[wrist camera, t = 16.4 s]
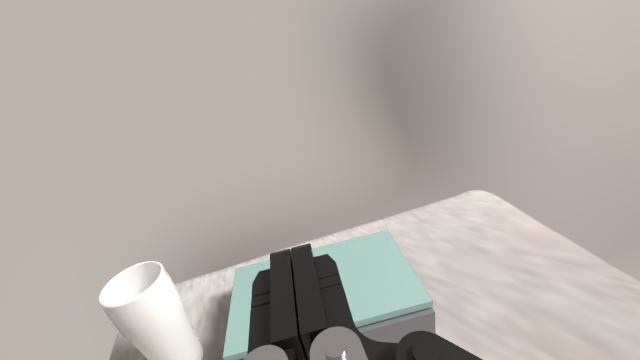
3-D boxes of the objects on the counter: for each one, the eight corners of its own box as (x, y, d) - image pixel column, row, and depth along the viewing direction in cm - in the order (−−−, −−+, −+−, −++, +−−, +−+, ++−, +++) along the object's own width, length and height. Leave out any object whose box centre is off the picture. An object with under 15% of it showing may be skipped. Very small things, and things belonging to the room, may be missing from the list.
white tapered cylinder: (155, 359, 41) (98, 280, 34) (204, 329, 44) (160, 251, 37) (160, 403, 35) (94, 319, 29) (215, 366, 38) (167, 282, 31)
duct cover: (388, 234, 46) (388, 229, 46) (432, 306, 34) (432, 300, 33) (237, 273, 45) (235, 268, 45) (225, 363, 33) (222, 357, 32)
